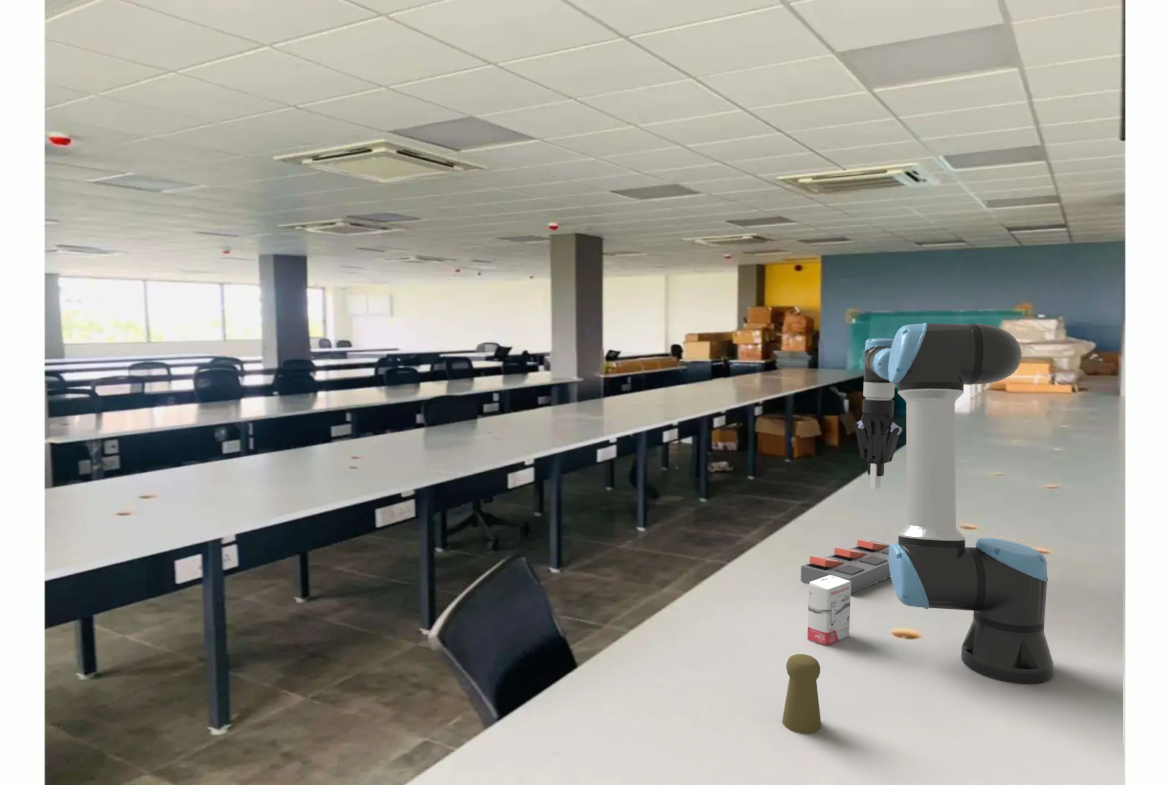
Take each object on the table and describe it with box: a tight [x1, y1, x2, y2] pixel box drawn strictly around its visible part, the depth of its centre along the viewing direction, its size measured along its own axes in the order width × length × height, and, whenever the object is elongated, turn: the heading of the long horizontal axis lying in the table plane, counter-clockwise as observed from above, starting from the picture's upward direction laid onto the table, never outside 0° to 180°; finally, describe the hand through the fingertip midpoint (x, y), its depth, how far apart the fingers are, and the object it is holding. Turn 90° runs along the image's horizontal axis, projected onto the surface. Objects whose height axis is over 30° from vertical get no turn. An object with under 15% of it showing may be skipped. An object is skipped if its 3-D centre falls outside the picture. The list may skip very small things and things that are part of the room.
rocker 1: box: [808, 555, 842, 567], centre depth 192 cm, size 4×8×2 cm, turn 131°
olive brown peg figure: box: [781, 653, 822, 735], centre depth 122 cm, size 6×6×11 cm
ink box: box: [807, 575, 852, 646], centre depth 156 cm, size 9×5×12 cm, turn 129°
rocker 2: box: [833, 547, 866, 558], centre depth 200 cm, size 4×8×2 cm, turn 131°
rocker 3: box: [856, 539, 887, 550], centre depth 207 cm, size 4×8×2 cm, turn 131°
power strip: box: [800, 540, 891, 595], centre depth 200 cm, size 13×44×4 cm, turn 131°
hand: (875, 487), depth 200 cm, fingers closed
